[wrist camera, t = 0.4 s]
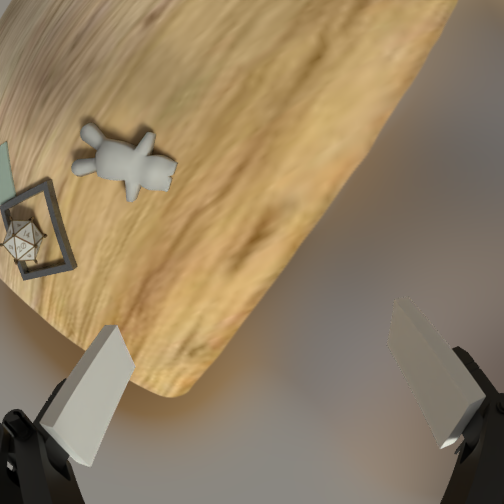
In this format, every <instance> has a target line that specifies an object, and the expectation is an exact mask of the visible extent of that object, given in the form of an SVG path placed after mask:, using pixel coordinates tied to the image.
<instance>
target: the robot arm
mask: <svg viewBox="0 0 504 504" xmlns="http://www.w3.org/2000/svg"><path fill="white" fill-rule="evenodd" d="M387 346H388V348H389V350H390V352H391V353H392V355H393V357H394V359H395V361H396V362H397V364H398V366H399V368H400V370H401V372H402V374H403V375H404V377H405V379H406V381H407V383H408V385H409V387H410V389H411V391H412V393H413V395H414V396H415V398H416V400H417V402H418V404H419V406H420V408H421V410H422V412H423V415H424V417H425V419H426V421H427V423H428V425H429V427H430V429H431V431H432V434H433V436H434V438H435V440H436V442H437V444H438V447H439V449H441V448H443V447H446V446H448V445H450V444H452V443H454V442H456V441H457V439H458V438H459V437H460V435H461V434H463V436H464V438H465V439H464V440H463V442H462V443H461V444H460V446H459V447H458V448H457V449H456V451H455V454H457V453H458V452H459V451H460V452H459V455H458V459H457V462H456V465H455V467H454V470H453V473H452V476H451V479H450V481H449V484H448V486H447V489H446V491H445V494H444V496H443V498H442V500H441V503H440V504H504V393H498V392H497V390H496V389H495V387H494V386H493V385H492V383H491V382H490V381H489V379H488V378H487V377H486V375H485V374H484V373H483V371H482V370H481V369H479V366H478V365H477V363H475V362H474V360H473V358H472V357H471V356H470V355H469V353H468V352H466V351H465V350H463V349H462V348H460V347H459V346H458V347H455V348H453V349H451V347H450V346H449V345H448V344H447V342H446V341H445V340H444V338H443V337H442V336H441V335H440V333H439V332H438V331H437V330H436V329H435V327H434V326H433V325H432V324H431V322H430V321H429V320H428V319H427V318H426V316H425V315H424V314H423V313H422V312H421V310H419V308H418V307H417V306H416V305H415V304H414V302H413V301H412V300H411V299H410V298H409V297H403V298H398V299H394V306H393V313H392V319H391V325H390V331H389V337H388V343H387ZM134 368H135V365H134V363H133V360H132V358H131V356H130V354H129V352H128V350H127V347H126V345H125V343H124V340H123V338H122V336H121V333H120V331H119V328H118V326H117V325H105V326H104V327H103V328H102V330H101V331H100V332H99V334H98V335H97V337H96V338H95V339H94V341H93V342H92V343H91V345H90V346H89V348H88V349H87V350H86V352H85V353H84V355H83V356H82V358H81V359H80V360H79V362H78V363H77V365H76V366H75V368H74V369H73V371H72V372H71V374H70V376H69V377H68V378H67V379H66V378H65V379H64V380H63V381H61V382H60V383H59V384H58V385H57V386H56V388H55V389H54V391H53V392H52V395H50V397H49V398H48V401H46V403H45V405H44V406H43V408H42V409H41V411H40V412H39V414H38V416H37V417H36V419H35V421H34V422H33V423H32V422H31V421H30V420H29V418H28V417H27V416H26V415H25V414H24V412H23V411H22V410H19V409H14V410H11V411H10V412H8V413H7V414H6V415H5V417H4V419H3V422H2V424H1V423H0V504H85V502H84V500H83V497H82V495H81V492H80V489H79V487H78V484H77V481H76V478H75V475H74V472H73V469H72V466H71V464H70V462H69V461H68V460H67V459H68V457H69V455H70V456H71V457H72V458H73V459H74V460H75V461H76V462H77V463H80V464H83V465H87V466H89V467H91V465H92V463H93V460H94V458H95V455H96V453H97V450H98V448H99V446H100V443H101V441H102V439H103V436H104V434H105V432H106V429H107V427H108V424H109V422H110V420H111V418H112V416H113V413H114V411H115V409H116V407H117V405H118V402H119V400H120V398H121V396H122V394H123V391H124V389H125V387H126V385H127V383H128V381H129V379H130V377H131V375H132V373H133V371H134ZM7 461H8V462H9V463H10V464H11V465H12V466H13V470H10V469H9V468H8V467H7Z"/></svg>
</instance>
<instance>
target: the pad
mask: <svg viewBox="0 0 504 504" xmlns="http://www.w3.org/2000/svg"><path fill="white" fill-rule="evenodd" d="M14 197H16V192H15V187H14V183H13V177H12V172H11V166H10V160H9V153H8V146H7V142H5V143H3V144H2V145H1V146H0V205H2V204H4V203H5V202H7V201H9V200H11V199H12V198H14Z"/></svg>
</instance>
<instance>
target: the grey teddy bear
mask: <svg viewBox="0 0 504 504" xmlns="http://www.w3.org/2000/svg"><path fill="white" fill-rule="evenodd" d="M80 136H81V138H82V140H83V141H85V142H86V143H88V144H89V145H90V146H92V147H93V148H95V149H96V150H97V152H96V155H95V158H88V159H77V160H76V161H74V163H73V164H72V167H71V168H72V172H73V173H74V174H75V175H76V176H80V177H82V176H85V175H88V174H91V173H94V172H97V175H98V176H99V177H101V178H104V179H109V180H125V186H126V199H127V201H129V202H133V201H134V200H136V199H137V196H138V194H139V191H140V189H141V186H142V187H144V188H146V189H148V190H163V191H166V192H167V191H168V190H169V188H170V185H171V182H172V179H173V178H172V177H171V175H173V174H174V173H175V170H176V167H177V164H178V162H175V161H173V160H172V159H170V158H169V157H167V156H165V155H152V152H153V147H154V143H155V138H156V134H155V133H152V132H147V133H146V134H145V136H144V137H143V139H142V140H141V141H140V143H139V144H138V146H137V147H136V146H134V145H132V144H130V143H127V142H125V141H120V140H114V139H109V138H106V137H105V135H104V134H103V133H102V132H101V131H100V129H99V128H98V127H97V126H96V125H95V124H94V123H92V122H91V123H88V124H86V125H85V126H83V128H82V129H81V131H80Z"/></svg>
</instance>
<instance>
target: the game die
mask: <svg viewBox="0 0 504 504" xmlns="http://www.w3.org/2000/svg"><path fill="white" fill-rule="evenodd" d="M10 220H11V223H10V226H9V228H8V231H7V234H6V237H5V239H4V242H3V244H2V243H0V246H4V247H5V248H6V249H7V250H8V252H9V253H10V254H11V255H12V256H13V257H14V258H15V259H14V262H15V264H16V265H17V264H18V261H30V260H34V261H35V263H37V260H36V256H37V253H38V250H39V248H40V245H41V242H42V239H43V237H44V238H46V237H47V235H46V234H45V235H42V234H41V232H40V231H39V230H38V228H37V227H36V226H35V224H34V223H33V222H32V221H33V220H34V217H32V218H30V219H29V220H12V217H10ZM37 264H38V263H37Z"/></svg>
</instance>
